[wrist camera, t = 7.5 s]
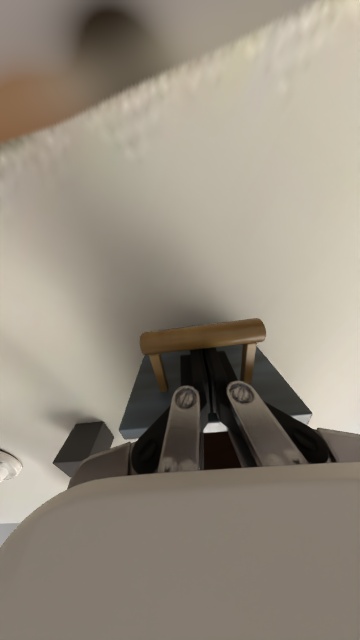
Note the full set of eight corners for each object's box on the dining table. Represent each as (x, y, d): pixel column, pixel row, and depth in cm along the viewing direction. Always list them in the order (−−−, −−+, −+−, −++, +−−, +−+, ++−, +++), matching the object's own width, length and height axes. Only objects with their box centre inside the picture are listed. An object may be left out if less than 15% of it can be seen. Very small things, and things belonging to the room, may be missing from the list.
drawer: (129, 311, 12) (80, 370, 6) (259, 294, 11) (349, 340, 5) (167, 426, 20) (162, 500, 14) (244, 419, 19) (274, 494, 13)
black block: (88, 439, 23) (69, 477, 19) (75, 424, 21) (51, 463, 17) (114, 437, 23) (100, 475, 19) (103, 421, 21) (86, 460, 17)
